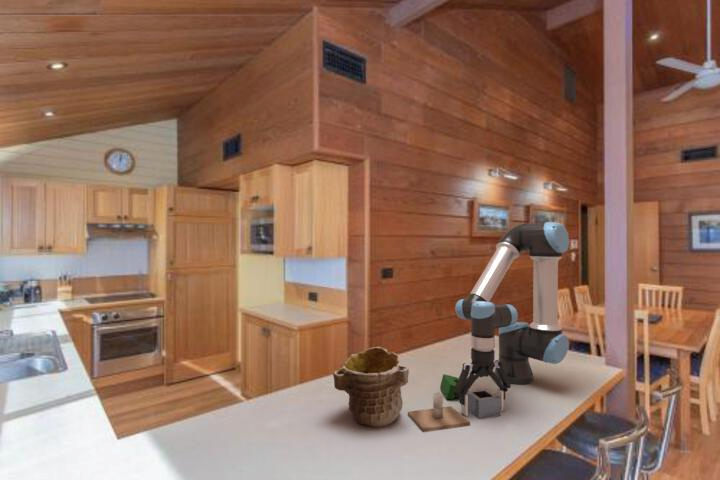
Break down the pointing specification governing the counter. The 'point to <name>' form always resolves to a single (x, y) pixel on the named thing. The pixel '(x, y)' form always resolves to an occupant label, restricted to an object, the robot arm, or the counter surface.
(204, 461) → the counter surface
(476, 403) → the collar
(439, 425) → the post board
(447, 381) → the clamp
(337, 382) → the ceramic vessel
